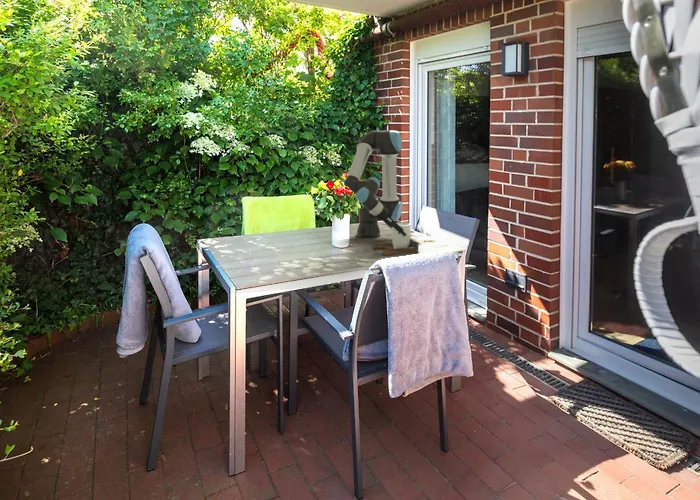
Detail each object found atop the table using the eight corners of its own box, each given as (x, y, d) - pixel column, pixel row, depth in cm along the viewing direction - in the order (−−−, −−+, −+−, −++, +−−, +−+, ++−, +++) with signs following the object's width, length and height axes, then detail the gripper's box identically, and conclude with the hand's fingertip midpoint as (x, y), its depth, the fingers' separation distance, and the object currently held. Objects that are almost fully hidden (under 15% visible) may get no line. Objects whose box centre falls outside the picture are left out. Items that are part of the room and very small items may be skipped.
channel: (374, 248, 293) (374, 238, 292) (407, 246, 298) (407, 236, 297) (383, 255, 278) (383, 244, 276) (418, 252, 283) (418, 242, 281)
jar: (408, 248, 294) (409, 222, 290) (411, 252, 284) (412, 225, 280) (390, 248, 293) (390, 222, 290) (392, 252, 283) (393, 225, 280)
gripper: (367, 212, 292) (392, 236, 299) (381, 220, 268) (407, 246, 276) (376, 202, 292) (401, 227, 299) (391, 209, 268) (417, 236, 276)
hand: (404, 236), depth 287 cm, fingers open, 13 cm apart
